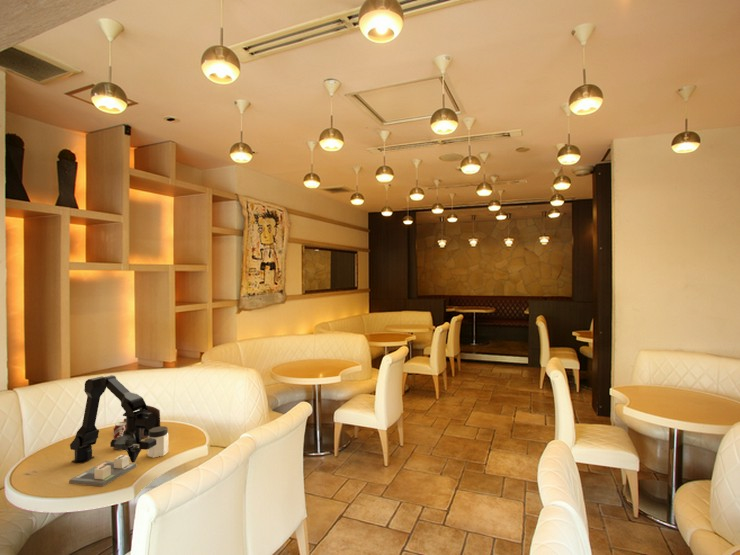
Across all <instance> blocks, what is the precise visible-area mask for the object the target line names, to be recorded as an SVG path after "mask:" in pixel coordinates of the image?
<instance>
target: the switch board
mask: <svg viewBox="0 0 740 555" xmlns="http://www.w3.org/2000/svg"><path fill="white" fill-rule="evenodd" d="M101 465H111V475H110V476H108V477H107V478H105V479H103V480H102V479H94V474H95V469H96V468H97V467H99V466H101ZM135 468H137V463H135V462H134V463H132V462H129V465H128V466H126V467H124V468H122V469H120V468H114V460H111V461H110V460H105V461H102V462H101V463H99V464H97V465H95V466H93V467H91V468H89V469H87V470H85V471H83V472H81V473H79V474H77V475H76V476H73V477H71V478H70V479H69V483H68V484H73V485H83V486H84V485H85V486H93V487H94V486H95V487H104V486H106V485H108V484H110V483H112V482H113V481H115V480H116V479H118V478H120V477H121V476H124V475H126V474H127V473H128V472H130V471H132V470H134V469H135Z"/></svg>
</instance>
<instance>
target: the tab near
mask: <svg viewBox="0 0 740 555" xmlns="http://www.w3.org/2000/svg"><path fill="white" fill-rule="evenodd" d="M110 475H111V465H101V466H99V467H97V468H96V469H95V474H94V479H102V480H103V479H105V478H107V477H108V476H110Z"/></svg>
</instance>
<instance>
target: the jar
mask: <svg viewBox="0 0 740 555" xmlns="http://www.w3.org/2000/svg"><path fill="white" fill-rule="evenodd" d="M168 431H169V430H168V427H167V426H161V425H160V427H154V428H152V429H150V430H149V433H148V434H149V436H148V438H153V439H156V445H155V446H153V447H151V448H149V449H147V450H146V452H147V457H150V458H153V459H154V458H160V457H164V456H165V455H166V454H168V453H169V432H168ZM159 456H160V457H159Z"/></svg>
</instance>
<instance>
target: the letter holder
mask: <svg viewBox="0 0 740 555" xmlns="http://www.w3.org/2000/svg"><path fill="white" fill-rule="evenodd" d="M146 405H147V407H148V409H149V412H147V413H152V416H154V417H155V418H156V424H155V426H154V427H160V426H161V411H160V409H158V408H157V407H155V406H151V405H148V404H146ZM139 410H142V409H139ZM139 410H138V411H139ZM123 422H126V417H125V418H124V419H123ZM154 427H153V428H154ZM148 433H149V430H148V429H143V430H141V436H143V439H142V440H145V439H147V438H148V436H149V434H148Z"/></svg>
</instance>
